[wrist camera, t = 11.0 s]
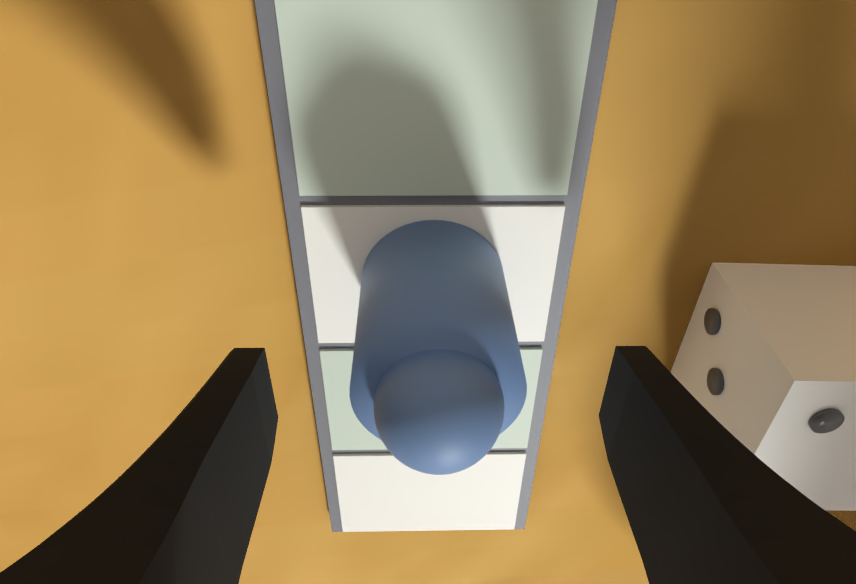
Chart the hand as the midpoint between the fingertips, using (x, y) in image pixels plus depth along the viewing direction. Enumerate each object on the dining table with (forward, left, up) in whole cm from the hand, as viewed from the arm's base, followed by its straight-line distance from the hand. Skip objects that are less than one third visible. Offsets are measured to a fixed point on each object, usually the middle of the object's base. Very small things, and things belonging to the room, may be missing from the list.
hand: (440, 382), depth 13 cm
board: (-2, 0, -4) cm, 5 cm away
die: (-2, -9, -4) cm, 11 cm away
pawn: (0, 0, -4) cm, 4 cm away
